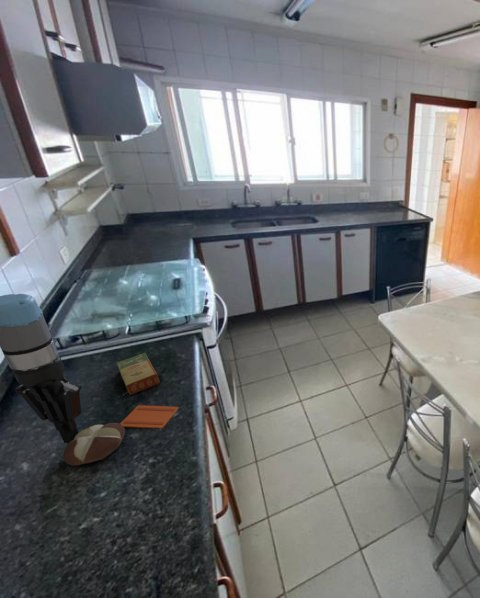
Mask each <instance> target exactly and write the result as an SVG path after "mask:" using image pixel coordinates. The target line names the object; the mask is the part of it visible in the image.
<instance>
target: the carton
mask: <svg viewBox="0 0 480 598" xmlns="http://www.w3.org/2000/svg"><path fill="white" fill-rule="evenodd" d="M116 366H117V368H118V372H119V373H120V377H121V378H122V381H123V383H124V385H125V388H126V390H127V392H128V394H129V396H131V395H134V394H137V393H139V392H142V391H145V390H147V389H149V388H153V387H154V386H157V385H159V384H160V383H161V381H160V379H159V375H158V372H157V371H156V370H155V367H154V365H152V363H151V360H150V359H149V357H148V355H147V353H146V352H143V353H140V354H137V355H135V356H132V357H129V358H125V359H123V360H120V361H117V362H116Z"/></svg>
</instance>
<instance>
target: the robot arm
mask: <svg viewBox="0 0 480 598" xmlns="http://www.w3.org/2000/svg"><path fill="white" fill-rule="evenodd" d="M0 349H1V352H2V354H3V356H4V358H5V360H6V362H7V364H8V367H9V368H10V369H11V370H12V371H11V372H12V374H13V376H14V377H15V379H16V381H17V383H18V384H19V386H17V387H16V388H14V392H15V393H16V394H18V395H19V396H21V397H22V398H23V400H24V401H25V402H26V404H28V406H29V407H30V408H31V409H32V410H33V412H34V413H35V414H36V415H37V416H38V417H39V419H40V420H41V421H46V420H48V421H49V422H50V423H51V424H53V426H54V428H55V430H56V431H57V432H58V433H59V435H60V437H61V439H62V441H63V443H64V444H68V443H69V442H71V441H73V440H74V438H75V436H76V435H77V434H78V433H79V432H80V431H79V430H78V428H77V427H78V424H77V423H76V420H75V419H76V418H78V417H79V416H80V415H82V408H81V394H80V392H81V389H82V387H83V386H82V385H81V384H77V383H76V384H75V385H74V384H71V383H69V380H68V379H67V378H66V377H65V376H64V374H65V370H66V367H65V365H64V361H63V359H62V357H61V356H60V353H59V351H58V348H57V346H56V344H55V341H54V340H53V337H52V334H51V331H50V329H49V326H48V323H47V321H46V318H45V317H44V312H43V310H42V308H40V306H39V305H38V302H37V300H36V299H35V297H33V296H32V295H30V294H26V293H16V294H15V293H9V294H3V295H0Z"/></svg>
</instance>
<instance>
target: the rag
mask: <svg viewBox="0 0 480 598" xmlns="http://www.w3.org/2000/svg"><path fill="white" fill-rule="evenodd" d="M178 410H179V406H167V405H165V406H163V405H144V404H143V405H142V404H141V405H139V404H138V405H137V406H136V407H135V408H133V410H132V411H131V412H130V413H129V414H128V415H127V416H126V417H125V418H124V419H123V420H122V421H121V422H120V423H119V424H121V425H122V426H123V427H124V428H133V429H137V428H138V429H164V427H165V426H166V425H167V424H168V423H169V421H170V420H171V419H172V417H173V416H174V415H175V414H176V412H177V411H178Z"/></svg>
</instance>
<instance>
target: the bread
mask: <svg viewBox="0 0 480 598" xmlns="http://www.w3.org/2000/svg"><path fill="white" fill-rule="evenodd" d="M78 432H79V433H78V434H77V435H76V436H75V438H74V440H73V441H71V442H69V443H66V446H65V448H64V451H63V455H62V457H63V458H62V459H63V461H64V462H65V463H66V464H67V465H69V466H82V465H85V464H91V463H94V462H97V461H101V460H104V459H105V458H107V457H108V456H110V455H111V454H113V452H115V451H116V450H117V449H118V448H119V447H120V445H121V443H122V441H123V439H124V437H125V434H126V428H125V427H123V426H122V425H121V424H120V423H118V422H108V423H106V424H94V425H90V426H88V427H86V428H84V429H82V430H80V431H78Z"/></svg>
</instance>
